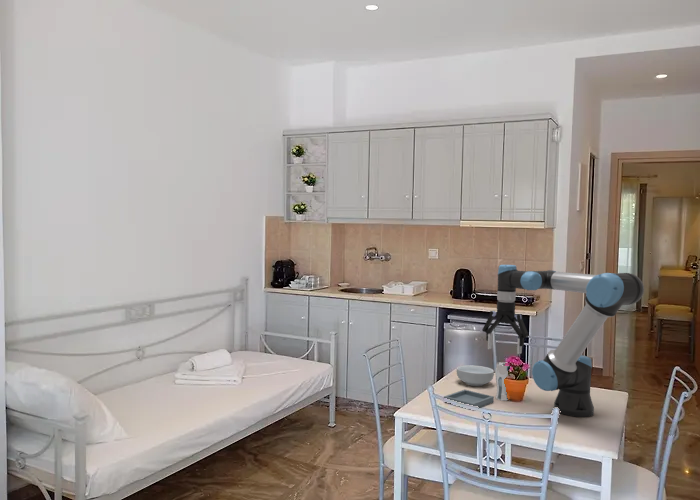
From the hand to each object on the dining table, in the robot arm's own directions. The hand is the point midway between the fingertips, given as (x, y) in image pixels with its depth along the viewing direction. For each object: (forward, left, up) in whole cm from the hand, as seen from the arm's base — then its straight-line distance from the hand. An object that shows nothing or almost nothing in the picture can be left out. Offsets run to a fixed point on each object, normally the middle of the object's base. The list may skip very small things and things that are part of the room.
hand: (504, 351), depth 258 cm
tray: (+7, +16, -20) cm, 27 cm away
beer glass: (0, 0, -21) cm, 21 cm away
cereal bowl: (+21, -12, -21) cm, 32 cm away
